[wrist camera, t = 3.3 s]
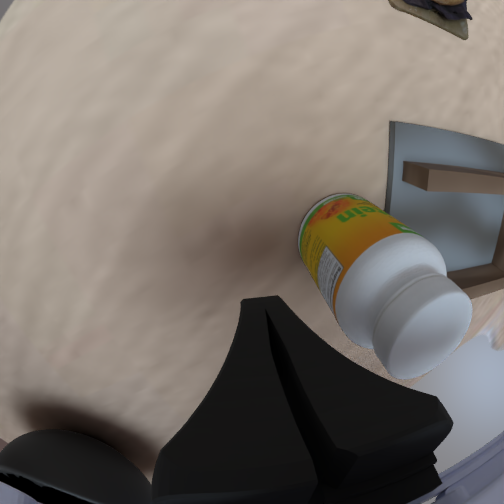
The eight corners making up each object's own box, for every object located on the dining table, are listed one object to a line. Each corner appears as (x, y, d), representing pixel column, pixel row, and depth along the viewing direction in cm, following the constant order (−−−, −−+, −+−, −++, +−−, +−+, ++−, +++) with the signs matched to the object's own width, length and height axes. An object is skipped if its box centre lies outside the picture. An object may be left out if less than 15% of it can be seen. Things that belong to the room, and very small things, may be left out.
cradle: (484, 290, 22) (503, 307, 19) (366, 319, 20) (384, 346, 18) (513, 148, 16) (539, 156, 13) (389, 121, 14) (421, 124, 12)
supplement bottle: (382, 192, 16) (502, 265, 7) (370, 271, 19) (454, 372, 10) (298, 191, 16) (393, 282, 7) (293, 277, 18) (351, 406, 9)
